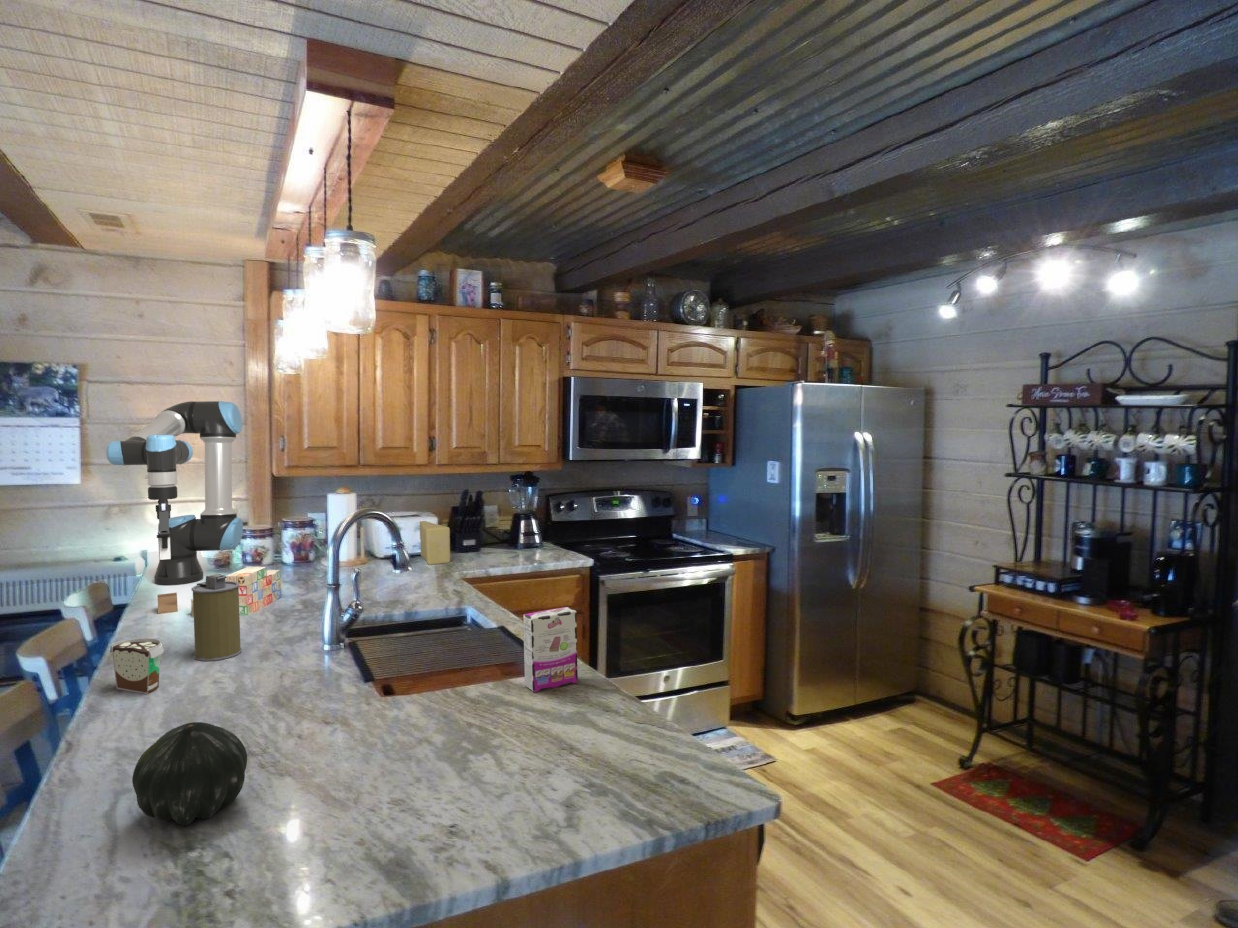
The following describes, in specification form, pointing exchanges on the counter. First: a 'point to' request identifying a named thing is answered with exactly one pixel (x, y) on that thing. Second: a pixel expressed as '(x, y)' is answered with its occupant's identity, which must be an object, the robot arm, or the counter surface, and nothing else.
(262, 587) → the stack of blocks
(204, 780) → the squash
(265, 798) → the counter surface
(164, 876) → the counter surface
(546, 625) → the candy bar box
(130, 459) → the robot arm
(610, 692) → the counter surface
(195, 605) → the canister
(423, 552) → the cheese
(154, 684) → the food container
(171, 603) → the walnut cube
